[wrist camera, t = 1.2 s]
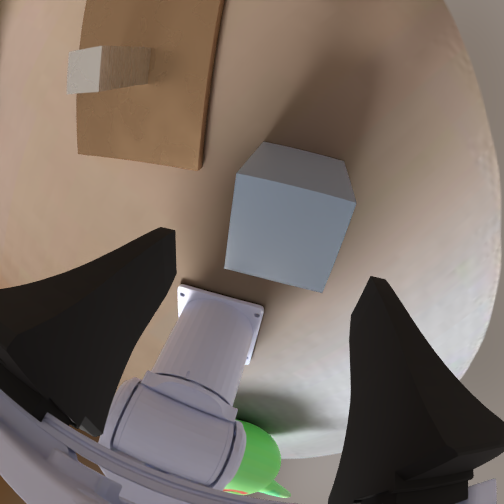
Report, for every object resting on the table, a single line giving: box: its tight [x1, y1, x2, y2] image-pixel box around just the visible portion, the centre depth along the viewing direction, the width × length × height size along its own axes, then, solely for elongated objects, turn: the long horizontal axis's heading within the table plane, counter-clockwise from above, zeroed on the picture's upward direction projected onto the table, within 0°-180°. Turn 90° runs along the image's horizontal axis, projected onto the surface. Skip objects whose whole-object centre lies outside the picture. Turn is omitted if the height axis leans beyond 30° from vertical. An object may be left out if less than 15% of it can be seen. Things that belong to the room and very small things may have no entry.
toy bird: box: [223, 419, 291, 498], centre depth 37 cm, size 18×17×15 cm
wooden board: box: [67, 0, 225, 171], centre depth 13 cm, size 14×11×6 cm
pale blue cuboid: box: [224, 141, 356, 293], centre depth 16 cm, size 5×5×7 cm
